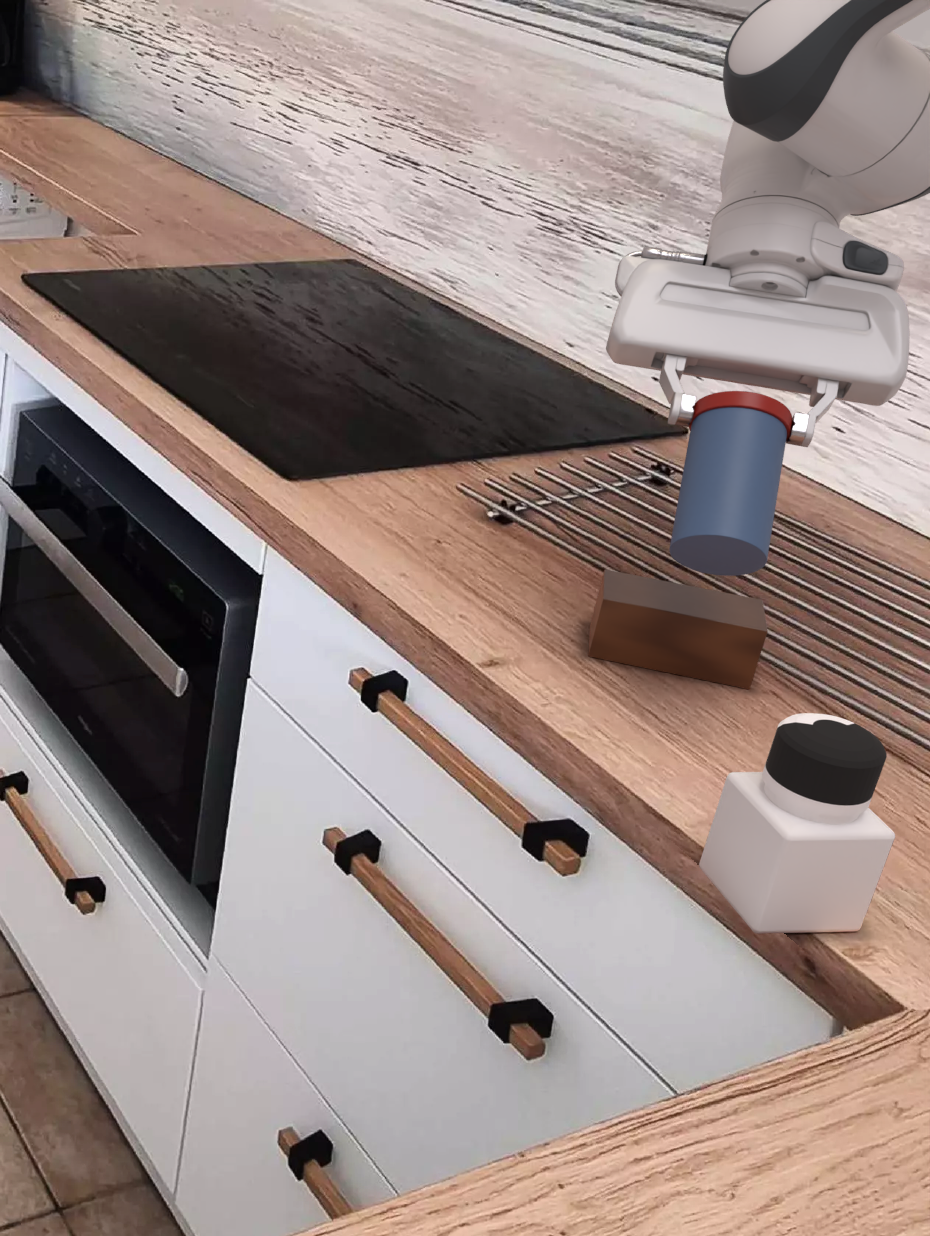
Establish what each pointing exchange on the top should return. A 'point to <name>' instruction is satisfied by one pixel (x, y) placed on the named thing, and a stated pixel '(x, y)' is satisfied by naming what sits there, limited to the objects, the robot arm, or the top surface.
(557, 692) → the top surface
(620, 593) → the block
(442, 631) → the top surface
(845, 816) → the medicine bottle
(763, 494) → the container
